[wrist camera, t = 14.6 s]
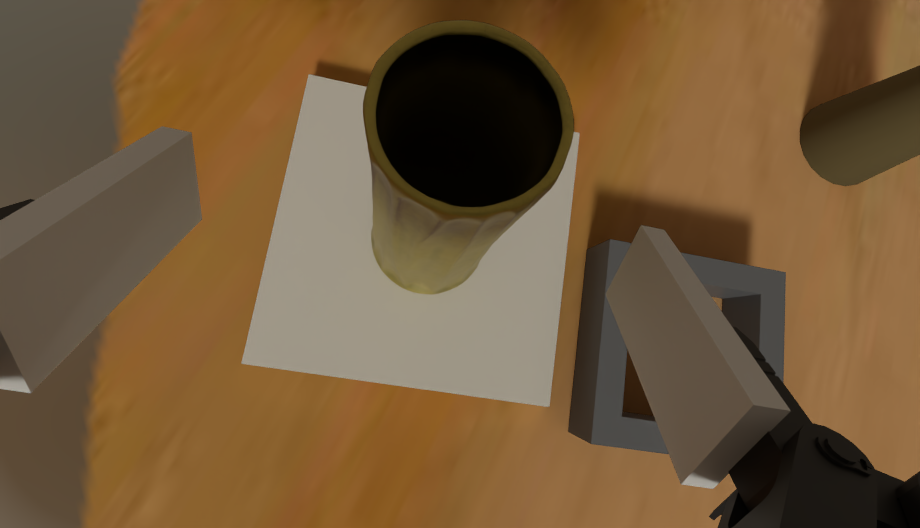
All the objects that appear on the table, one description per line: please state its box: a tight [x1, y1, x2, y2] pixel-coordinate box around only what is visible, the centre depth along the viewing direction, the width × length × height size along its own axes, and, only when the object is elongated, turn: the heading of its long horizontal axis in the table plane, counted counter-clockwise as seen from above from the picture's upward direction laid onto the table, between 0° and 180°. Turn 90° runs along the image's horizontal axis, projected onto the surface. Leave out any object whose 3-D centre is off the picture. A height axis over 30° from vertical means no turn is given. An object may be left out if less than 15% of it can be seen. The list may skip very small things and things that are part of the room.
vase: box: [363, 20, 574, 295], centre depth 18 cm, size 6×6×14 cm
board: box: [242, 74, 580, 407], centre depth 26 cm, size 16×16×1 cm
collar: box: [568, 239, 786, 454], centre depth 26 cm, size 11×11×3 cm
